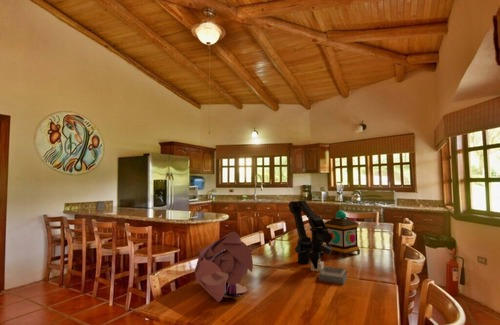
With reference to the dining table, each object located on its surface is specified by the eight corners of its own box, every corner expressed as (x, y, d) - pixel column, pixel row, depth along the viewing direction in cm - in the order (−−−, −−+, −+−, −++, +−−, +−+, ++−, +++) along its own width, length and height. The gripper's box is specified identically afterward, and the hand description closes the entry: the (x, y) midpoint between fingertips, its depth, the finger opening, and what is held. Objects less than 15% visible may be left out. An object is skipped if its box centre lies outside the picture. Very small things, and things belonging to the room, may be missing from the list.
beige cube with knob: (310, 270, 157) (310, 259, 158) (313, 267, 163) (313, 256, 163) (321, 271, 155) (321, 260, 155) (323, 268, 160) (323, 258, 160)
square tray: (318, 280, 140) (318, 271, 141) (323, 273, 151) (323, 265, 151) (343, 284, 135) (343, 275, 135) (346, 277, 146) (346, 268, 146)
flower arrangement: (263, 306, 123) (275, 242, 127) (225, 313, 107) (240, 239, 111) (214, 279, 148) (226, 226, 152) (176, 281, 131) (190, 222, 135)
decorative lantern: (363, 254, 191) (361, 210, 193) (345, 259, 180) (343, 212, 182) (339, 248, 208) (338, 208, 210) (321, 252, 196) (320, 210, 199)
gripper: (327, 244, 148) (328, 274, 147) (334, 237, 165) (334, 264, 163) (307, 242, 153) (307, 271, 152) (315, 236, 170) (315, 262, 168)
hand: (317, 267), depth 159 cm, fingers closed on beige cube with knob, 6 cm apart
